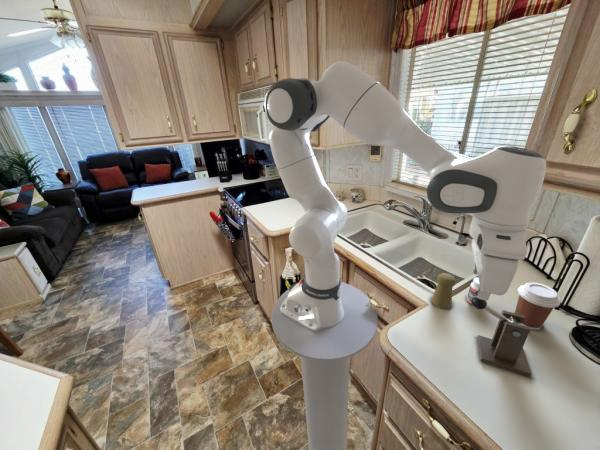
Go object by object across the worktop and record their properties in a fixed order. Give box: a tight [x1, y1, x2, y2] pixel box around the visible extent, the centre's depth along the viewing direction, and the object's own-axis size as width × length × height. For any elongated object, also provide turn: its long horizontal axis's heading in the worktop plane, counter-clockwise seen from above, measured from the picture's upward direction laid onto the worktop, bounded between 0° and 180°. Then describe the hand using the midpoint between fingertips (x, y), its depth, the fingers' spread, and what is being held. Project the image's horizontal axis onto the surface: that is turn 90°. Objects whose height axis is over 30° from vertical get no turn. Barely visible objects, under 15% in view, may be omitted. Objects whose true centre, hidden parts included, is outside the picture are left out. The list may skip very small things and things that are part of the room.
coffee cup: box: [514, 281, 562, 331], centre depth 73 cm, size 9×9×12 cm
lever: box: [470, 296, 523, 326], centre depth 62 cm, size 12×3×3 cm, turn 63°
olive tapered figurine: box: [431, 272, 457, 310], centre depth 82 cm, size 6×6×11 cm
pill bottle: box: [466, 276, 480, 305], centre depth 82 cm, size 5×5×8 cm
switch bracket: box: [476, 310, 533, 377], centre depth 63 cm, size 10×8×13 cm
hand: (479, 284), depth 56 cm, fingers open, 8 cm apart
